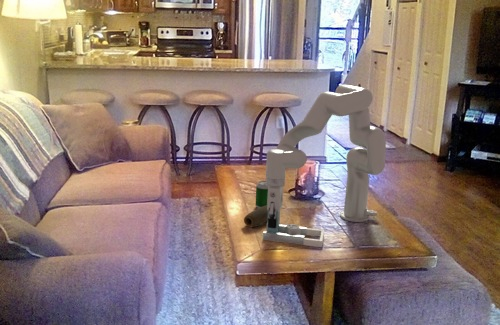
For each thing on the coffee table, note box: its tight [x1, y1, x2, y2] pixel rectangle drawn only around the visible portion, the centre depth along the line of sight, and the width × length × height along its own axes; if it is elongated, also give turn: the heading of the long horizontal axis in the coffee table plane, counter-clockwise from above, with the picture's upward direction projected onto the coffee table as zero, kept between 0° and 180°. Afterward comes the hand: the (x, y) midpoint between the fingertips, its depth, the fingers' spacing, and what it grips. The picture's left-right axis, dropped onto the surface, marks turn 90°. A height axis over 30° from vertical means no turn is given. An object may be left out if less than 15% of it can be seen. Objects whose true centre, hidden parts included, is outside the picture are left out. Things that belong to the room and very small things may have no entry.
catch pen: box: [303, 227, 325, 248], centre depth 199 cm, size 7×11×2 cm, turn 168°
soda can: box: [255, 180, 268, 209], centre depth 230 cm, size 8×8×12 cm
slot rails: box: [262, 224, 308, 246], centre depth 201 cm, size 16×10×3 cm, turn 78°
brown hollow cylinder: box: [243, 205, 268, 228], centre depth 213 cm, size 15×7×7 cm, turn 145°
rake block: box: [266, 209, 281, 233], centre depth 200 cm, size 4×6×12 cm, turn 168°
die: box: [284, 223, 301, 235], centre depth 200 cm, size 5×5×5 cm
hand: (273, 224), depth 201 cm, fingers closed on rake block, 6 cm apart
